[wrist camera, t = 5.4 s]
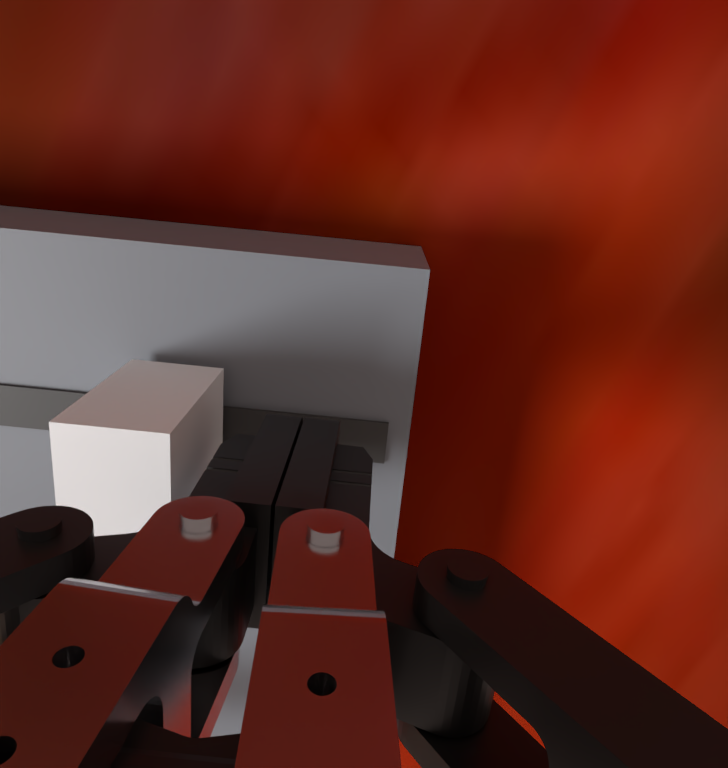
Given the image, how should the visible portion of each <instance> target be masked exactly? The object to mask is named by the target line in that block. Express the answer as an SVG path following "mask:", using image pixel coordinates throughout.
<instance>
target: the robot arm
mask: <svg viewBox="0 0 728 768" xmlns="http://www.w3.org/2000/svg"><path fill="white" fill-rule="evenodd" d="M339 434H340V421H334V420H325V419H316V418H306V417H305V419H304V422H303V417H296V416H286V415H277V414H266V416H265V418H264V420H263V422H262V424H261V426H260V428H259V430H258V432H257V434H256V436H254V435H245V434H237V435H235V436H233V437H232V438H230V439H228V440H226V441H225V442H223V443H221V444H220V446H219V448H218V449H217V451H216V453H215V454H214V456H213V459H211V461H210V463H209V464H208V466H207V470H205V471H204V473H203V474H202V476H201V477H200V479H199V481H198V482H197V484H196V486H195V487H194V489H193V491H192V492H191V494H190V496H189V497H185V498H181V499H177V500H174V501H171V502H169V503H167V504H165V505H163V506H162V507H160V508H159V509H158V510H157V511H156V512H155V513H154V514H153V515H152V516H151V518H150V519H149V520H148V521H147V522H146V524H145V525H144V526H143V527H142V528H141V530H140V531H139V532H135V533H127V534H116V535H104V536H94V526H93V520H92V518H91V517H90V516H89V515H88V514H87V513H85V512H84V511H82V510H79V509H77V508H73V507H68V506H41V507H34V508H29V509H25V510H22V511H19V512H15V513H12V514H9V515H6V516H3V517H0V768H401V759H400V749H399V739H400V741H401V742H402V744H403V745H404V747H405V748H406V749H407V750H408V751H409V753H410V754H411V755H412V756H413V757H414V759H415V760H416V761H417V762H418V763H419V765H420V766H421V767H422V768H728V729H727V728H725V727H724V726H723V725H721V724H720V723H719V722H717V721H716V720H714V719H713V718H712V717H710V716H709V715H708V714H706V713H705V712H703V711H702V710H701V709H699V708H698V707H697V706H695V705H694V704H692V703H691V702H690V701H688V700H687V699H686V698H684V697H683V696H681V695H680V694H679V693H677V692H676V691H674V690H673V689H672V688H670V687H669V686H668V685H666V684H665V683H663V682H662V681H661V680H659V679H658V678H657V677H655V676H654V675H652V674H651V673H650V672H648V671H647V670H646V669H644V668H643V667H641V666H640V665H639V664H637V663H636V662H635V661H633V660H632V659H630V658H629V657H628V656H626V655H625V654H624V653H622V652H621V651H619V650H618V649H617V648H615V647H614V646H612V645H611V644H610V643H608V642H607V641H606V640H604V639H603V638H601V637H600V636H599V635H597V634H596V633H595V632H593V631H592V630H590V629H589V628H588V627H586V626H585V625H584V624H582V623H581V622H579V621H578V620H577V619H575V618H574V617H573V616H571V615H570V614H568V613H567V612H566V611H564V610H563V609H562V608H560V607H559V606H557V605H556V604H555V603H553V602H552V601H550V600H549V599H548V598H546V597H545V596H544V595H542V594H541V593H539V592H538V591H537V590H535V589H534V588H533V587H531V586H530V585H528V584H527V583H526V582H524V581H523V580H522V579H520V578H519V577H517V576H516V575H515V574H513V573H512V572H511V571H509V570H508V569H506V568H505V567H504V566H502V565H501V564H499V563H498V562H496V561H495V560H493V559H491V558H489V557H487V556H485V555H482V554H480V553H476V552H473V551H468V550H463V549H444V550H439V551H435V552H433V553H430V554H428V555H427V556H425V557H424V558H423V559H422V560H421V562H420V563H419V565H418V567H416V566H413V565H410V564H406V563H404V562H401V561H398V560H396V559H394V558H392V557H390V556H388V555H387V554H385V553H384V552H383V551H381V550H380V549H379V548H378V547H377V546H376V545H375V544H374V542H373V541H372V539H371V535H370V531H369V522H370V503H371V485H372V467H373V459H372V458H371V456H370V455H369V454H368V453H367V451H366V450H365V449H364V447H359V446H350V445H340V444H339ZM247 628H256V629H259V630H258V636H257V641H256V647H255V653H254V659H253V664H252V670H251V676H250V682H249V687H248V693H247V699H246V705H245V710H244V716H243V722H242V728H241V733H240V734H231V735H223V736H214V737H210V736H211V734H212V731H213V729H214V726H215V724H216V721H217V719H218V716H219V714H220V711H221V709H222V706H223V704H224V701H225V699H226V697H227V694H228V692H229V689H230V687H231V684H232V682H233V679H234V677H235V674H236V672H237V669H238V666H239V654H240V646H241V645H242V642H243V640H244V637H245V633H246V630H247ZM494 691H495V692H497V693H498V694H499V695H500V696H501V697H502V698H503V699H504V700H505V701H506V702H507V703H508V704H509V705H510V706H511V707H513V708H514V709H515V710H516V711H517V712H518V713H519V714H520V715H521V716H522V717H523V718H524V719H525V720H526V721H527V722H529V723H530V725H531V726H532V727H533V728H534V729H535V730H536V732H537V733H538V735H539V736H540V738H541V740H542V741H543V743H544V746H545V748H546V749H545V748H544V747H543V746H541V745H540V744H539V743H538V742H537V741H536V740H535V739H534V738H533V737H532V736H531V735H530V734H529V733H528V732H527V731H526V730H525V729H524V728H523V727H522V726H521V725H519V724H518V723H517V722H516V721H515V720H514V719H513V718H512V717H511V716H510V715H509V714H508V713H507V712H506V711H505V710H504V709H503V708H502V707H501V706H500V705H499V704H497V703H496V702H495V701H494V700H493V696H494ZM398 737H399V739H398Z"/></svg>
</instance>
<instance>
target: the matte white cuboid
mask: <svg viewBox="0 0 728 768" xmlns="http://www.w3.org/2000/svg"><path fill="white" fill-rule="evenodd" d="M223 384H224V368H215V367H205V366H195V365H185V364H175V363H165V362H154V361H144V360H134V359H132V360H131V361H129V362H128V363H127V364H125V365H124V366H123V367H121V368H120V369H119V370H117V371H116V372H115V373H113V374H112V375H111V376H109V377H108V378H107V379H105V380H104V381H103V382H101V383H100V384H99V385H97V386H96V387H95V388H93V389H92V390H91V391H89V392H88V393H87V394H85V395H84V396H83V397H81V398H80V399H79V400H77V401H76V402H75V403H73V404H72V405H71V406H69V407H68V408H67V409H65V410H64V411H63V412H61V413H60V414H59V415H57V416H56V417H55V418H53V419H52V420H51V421H49V431H50V443H51V454H52V466H53V478H54V489H55V501H56V506H68V507H73V508H77V509H79V510H82V511H84V512H85V513H87V514H88V515H89V516H90V517H91V518H92V520H93V526H94V536H104V535H116V534H127V533H135V532H139V531H140V530H141V528H142V527H143V526H144V525H145V524H146V522H147V521H148V520H149V519H150V518H151V516H152V515H153V514H154V513H155V512H156V511H157V510H158V509H159V508H160V507H162V506H163V505H165V504H167V503H169V502H171V501H174V500H177V499H181V498H185V497H189V496H190V494H191V492H192V491H193V489H194V487H195V486H196V484H197V482H198V481H199V479H200V477H201V476H202V474H203V473H204V471H205V470H207V466H208V464H209V463H210V461H211V459H213V456H214V454H215V453H216V451H217V449H218V448H219V446H220V444H221V443H223Z"/></svg>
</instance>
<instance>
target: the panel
mask: <svg viewBox="0 0 728 768" xmlns="http://www.w3.org/2000/svg"><path fill="white" fill-rule="evenodd" d="M429 276H430V268H429V265H428V263H427V260H426V258H425V255H424V253H423V250H422V248H421V246H412V245H401V244H391V243H381V242H371V241H360V240H350V239H340V238H330V237H319V236H309V235H299V234H289V233H278V232H268V231H258V230H247V229H237V228H227V227H217V226H206V225H196V224H186V223H176V222H165V221H155V220H145V219H134V218H124V217H114V216H104V215H93V214H83V213H73V212H63V211H52V210H42V209H32V208H22V207H11V206H1V205H0V517H3V516H6V515H9V514H12V513H15V512H19V511H22V510H25V509H29V508H34V507H41V506H56V501H55V489H54V478H53V466H52V454H51V443H50V431H49V421H51V420H52V419H53V418H55V417H56V416H57V415H59V414H60V413H61V412H63V411H64V410H65V409H67V408H68V407H69V406H71V405H72V404H73V403H75V402H76V401H77V400H79V399H80V398H81V397H83V396H84V395H85V394H87V393H88V392H89V391H91V390H92V389H93V388H95V387H96V386H97V385H99V384H100V383H101V382H103V381H104V380H105V379H107V378H108V377H109V376H111V375H112V374H113V373H115V372H116V371H117V370H119V369H120V368H121V367H123V366H124V365H125V364H127V363H128V362H129V361H131V360H132V359H134V360H144V361H154V362H165V363H175V364H185V365H195V366H205V367H215V368H224V384H223V442H225V441H226V440H228V439H230V438H232V437H233V436H235V435H237V434H245V435H254V436H256V434H257V432H258V430H259V428H260V426H261V424H262V422H263V420H264V418H265V416H266V414H277V415H286V416H296V417H303V422H304V419H305V417H306V418H316V419H325V420H334V421H340V434H339V444H340V445H350V446H359V447H364V449H365V450H366V451H367V453H368V454H369V455H370V456H371V458H372V459H373V467H372V485H371V503H370V522H369V531H370V535H371V539H372V541H373V542H374V544H375V545H376V546H377V547H378V548H379V549H380V550H381V551H383V552H384V553H385V554H387V555H388V556H390V557H392V558H394V553H395V545H396V537H397V529H398V521H399V513H400V505H401V498H402V490H403V482H404V474H405V466H406V458H407V450H408V442H409V434H410V426H411V418H412V410H413V403H414V395H415V387H416V379H417V371H418V363H419V355H420V347H421V339H422V331H423V323H424V315H425V307H426V300H427V292H428V284H429ZM258 630H259V629H256V628H247V630H246V633H245V637H244V640H243V642H242V645H241V646H240V654H239V666H238V669H237V672H236V674H235V677H234V679H233V682H232V684H231V687H230V689H229V692H228V694H227V697H226V699H225V701H224V704H223V706H222V709H221V711H220V714H219V716H218V719H217V721H216V724H215V726H214V729H213V731H212V734H211V736H210V737H214V736H223V735H231V734H240V733H241V728H242V722H243V716H244V710H245V705H246V699H247V693H248V687H249V682H250V676H251V670H252V664H253V659H254V653H255V647H256V641H257V636H258Z"/></svg>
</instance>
